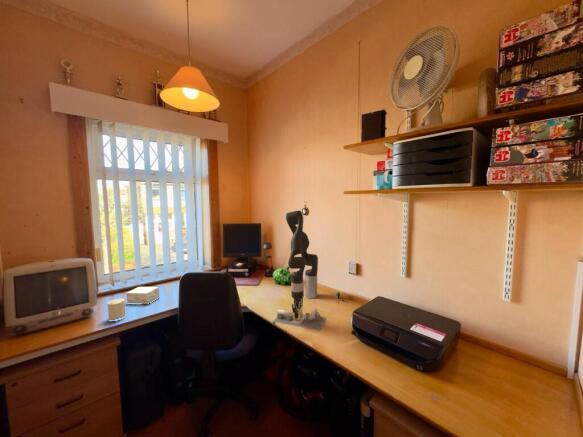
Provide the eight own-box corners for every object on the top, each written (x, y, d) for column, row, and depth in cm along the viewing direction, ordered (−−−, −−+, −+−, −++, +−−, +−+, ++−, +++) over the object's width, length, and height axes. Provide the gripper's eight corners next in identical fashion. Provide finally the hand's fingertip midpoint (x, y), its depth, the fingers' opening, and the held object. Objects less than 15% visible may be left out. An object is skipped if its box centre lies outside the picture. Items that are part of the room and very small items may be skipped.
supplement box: (159, 298, 188) (159, 286, 188) (148, 305, 175) (147, 293, 175) (140, 297, 190) (139, 286, 190) (126, 304, 177) (126, 292, 177)
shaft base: (283, 311, 162) (283, 303, 161) (327, 319, 150) (327, 310, 150) (272, 323, 147) (272, 314, 146) (320, 332, 136) (320, 322, 135)
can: (105, 320, 154) (103, 302, 153) (119, 314, 162) (118, 297, 161) (114, 323, 150) (113, 304, 149) (129, 316, 159) (128, 298, 158)
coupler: (293, 318, 146) (292, 306, 146) (295, 315, 150) (295, 303, 150) (300, 320, 145) (299, 307, 144) (302, 316, 149) (302, 304, 148)
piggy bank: (286, 287, 206) (286, 270, 205) (269, 284, 216) (269, 267, 215) (295, 282, 218) (295, 266, 217) (279, 279, 228) (278, 264, 227)
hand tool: (358, 338, 130) (358, 330, 129) (351, 336, 132) (351, 328, 131) (365, 322, 146) (365, 315, 146) (359, 321, 148) (359, 314, 148)
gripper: (295, 284, 154) (296, 310, 155) (287, 292, 141) (287, 320, 142) (307, 286, 151) (307, 312, 153) (299, 294, 138) (299, 323, 139)
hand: (297, 316), depth 147 cm, fingers closed on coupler, 4 cm apart
